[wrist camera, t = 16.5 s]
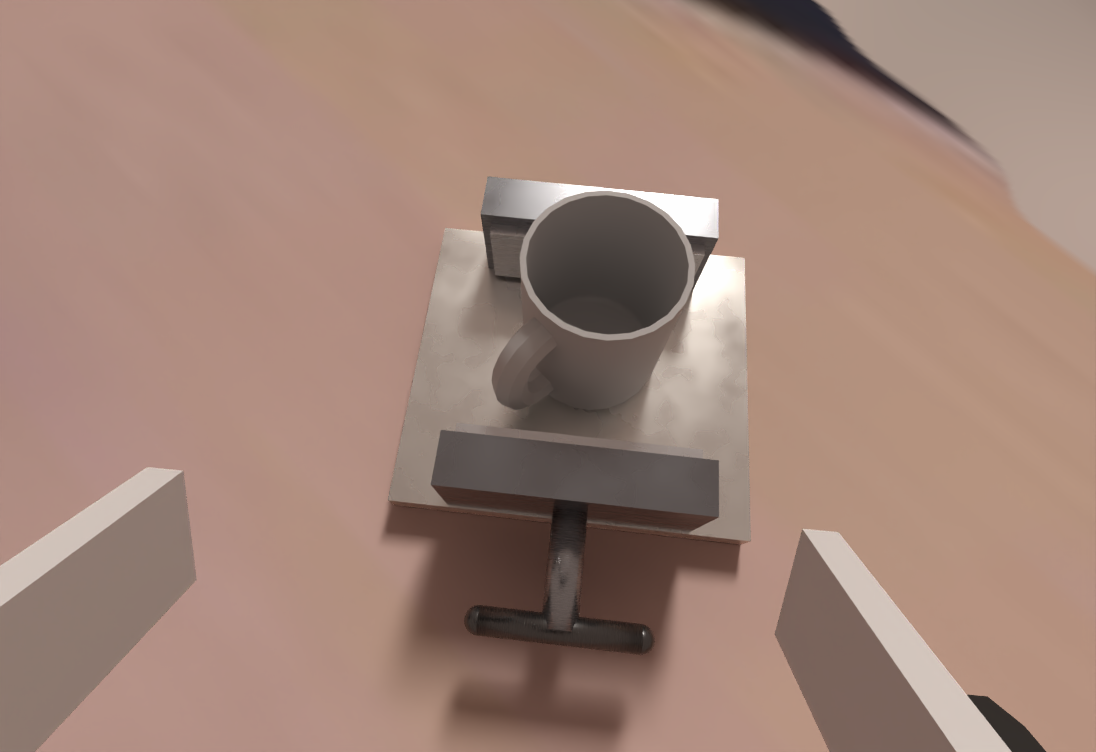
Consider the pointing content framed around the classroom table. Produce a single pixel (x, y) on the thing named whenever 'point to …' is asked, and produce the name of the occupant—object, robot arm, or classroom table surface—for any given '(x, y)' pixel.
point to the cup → (594, 301)
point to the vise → (577, 418)
